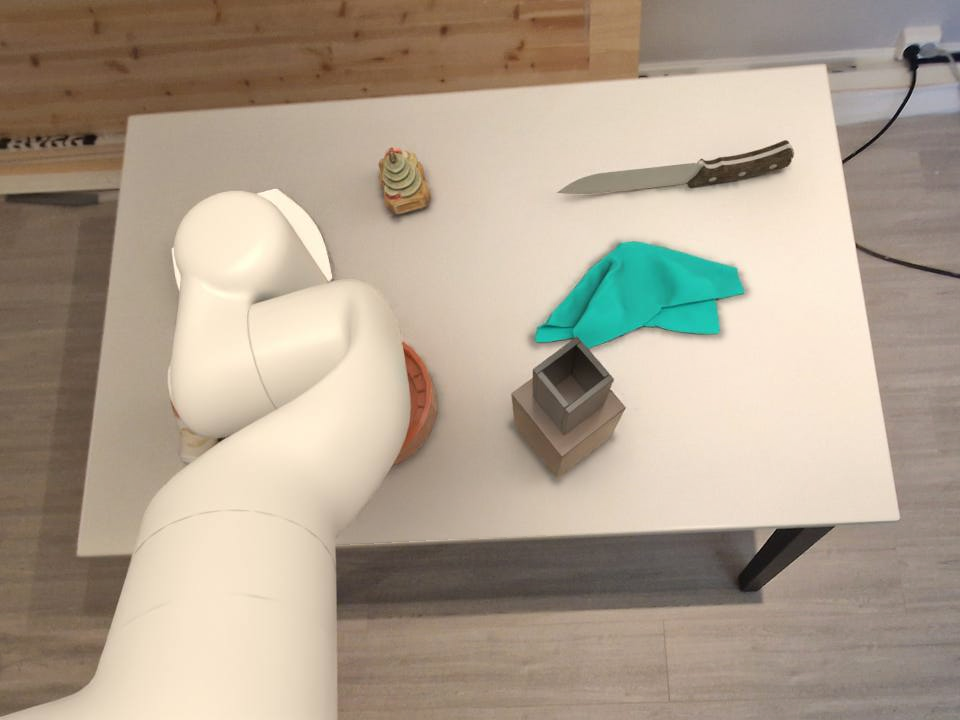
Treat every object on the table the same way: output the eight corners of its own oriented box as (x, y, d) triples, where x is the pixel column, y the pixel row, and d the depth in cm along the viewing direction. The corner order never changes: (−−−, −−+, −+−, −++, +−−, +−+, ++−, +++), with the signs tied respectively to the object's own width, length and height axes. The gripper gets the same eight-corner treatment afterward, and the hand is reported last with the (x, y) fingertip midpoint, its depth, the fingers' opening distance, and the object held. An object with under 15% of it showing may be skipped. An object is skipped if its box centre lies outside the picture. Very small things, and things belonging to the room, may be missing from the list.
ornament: (375, 174, 95) (358, 128, 86) (418, 159, 95) (406, 112, 86) (392, 223, 93) (376, 181, 83) (437, 208, 93) (426, 164, 83)
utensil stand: (611, 436, 82) (639, 381, 60) (557, 478, 81) (566, 438, 59) (567, 384, 84) (579, 313, 62) (514, 424, 83) (507, 366, 61)
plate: (160, 252, 94) (152, 245, 92) (286, 179, 96) (281, 171, 94) (222, 366, 88) (215, 362, 86) (355, 286, 90) (351, 280, 88)
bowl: (462, 418, 84) (457, 407, 79) (357, 496, 82) (345, 490, 77) (390, 324, 88) (381, 307, 83) (289, 396, 86) (273, 384, 81)
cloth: (731, 232, 89) (736, 223, 87) (753, 334, 84) (759, 327, 82) (525, 254, 90) (524, 246, 88) (536, 356, 86) (536, 350, 83)
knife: (798, 135, 87) (559, 161, 85) (804, 152, 86) (563, 179, 85) (778, 163, 93) (553, 187, 91) (783, 179, 92) (557, 204, 90)
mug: (174, 472, 85) (131, 415, 78) (219, 412, 91) (183, 356, 84) (224, 481, 82) (184, 423, 75) (267, 419, 88) (234, 361, 82)
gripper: (198, 264, 57) (277, 339, 74) (301, 415, 52) (359, 458, 70) (276, 211, 58) (335, 298, 75) (384, 355, 53) (420, 412, 71)
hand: (346, 375), depth 72 cm, fingers closed
